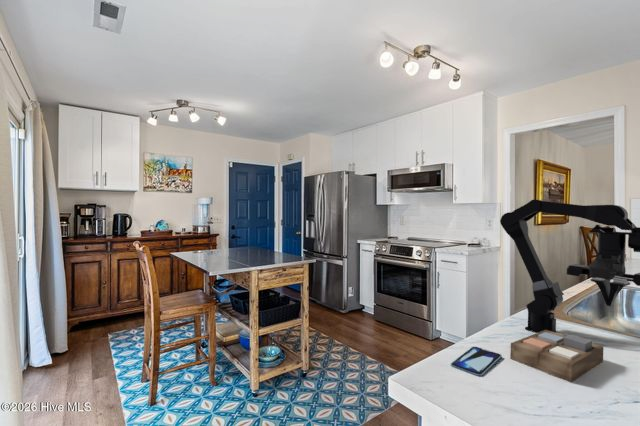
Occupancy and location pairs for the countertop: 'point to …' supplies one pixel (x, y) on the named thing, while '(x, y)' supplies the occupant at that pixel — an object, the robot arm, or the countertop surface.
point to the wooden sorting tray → (556, 358)
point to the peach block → (537, 343)
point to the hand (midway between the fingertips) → (609, 305)
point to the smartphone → (476, 361)
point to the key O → (578, 343)
